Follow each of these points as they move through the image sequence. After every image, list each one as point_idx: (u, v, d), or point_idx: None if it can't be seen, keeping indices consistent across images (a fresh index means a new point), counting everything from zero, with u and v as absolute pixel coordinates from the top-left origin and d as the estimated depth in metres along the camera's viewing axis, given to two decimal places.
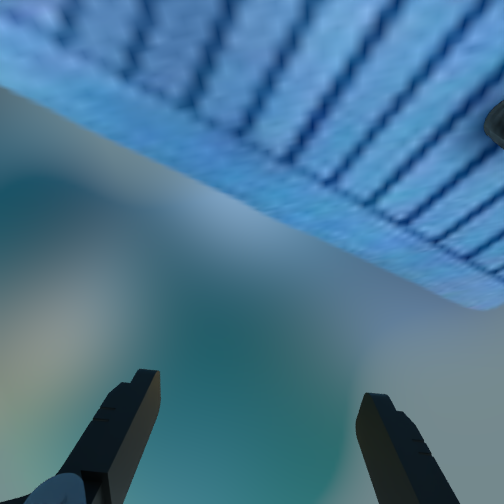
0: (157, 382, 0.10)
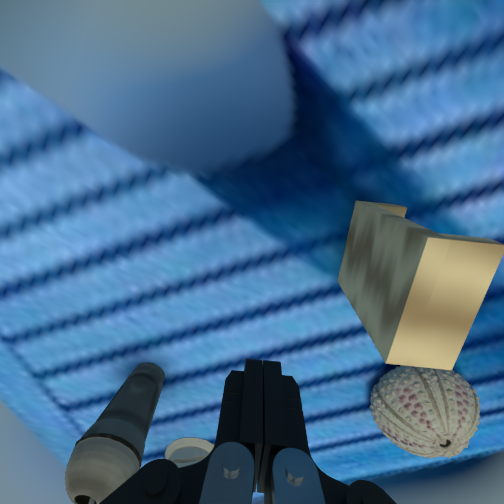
0: None
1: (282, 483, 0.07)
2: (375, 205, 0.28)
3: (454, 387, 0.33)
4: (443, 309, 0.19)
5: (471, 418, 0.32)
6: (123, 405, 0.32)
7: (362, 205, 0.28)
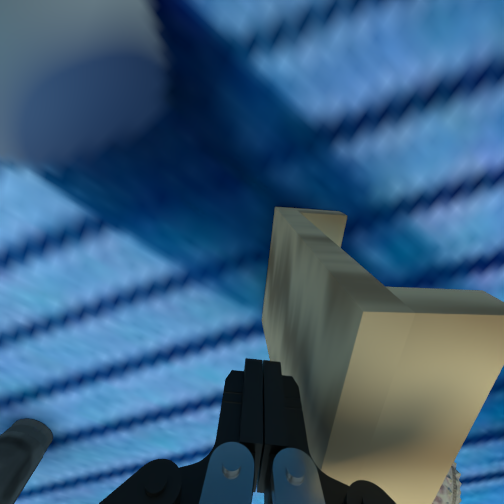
0: None
1: (282, 483, 0.07)
2: (299, 214, 0.18)
3: None
4: (403, 439, 0.09)
5: None
6: None
7: (280, 215, 0.18)
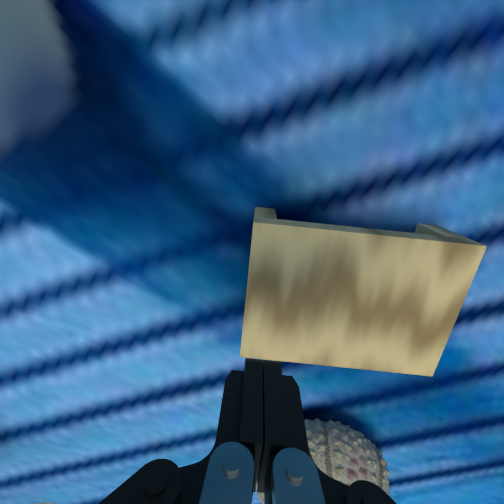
0: None
1: (282, 483, 0.07)
2: (289, 220, 0.17)
3: (348, 462, 0.23)
4: None
5: None
6: None
7: (290, 228, 0.16)
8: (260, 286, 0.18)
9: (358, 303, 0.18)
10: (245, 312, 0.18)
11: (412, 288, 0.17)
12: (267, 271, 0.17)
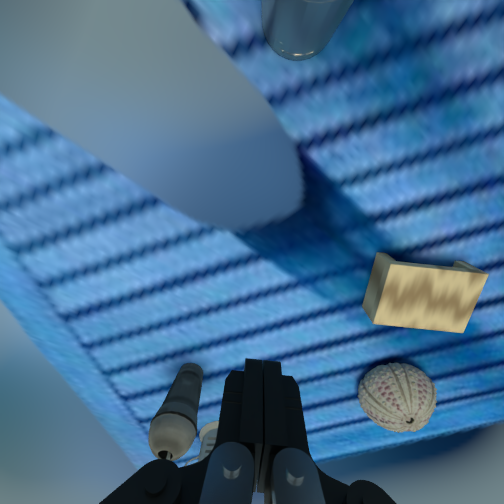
0: None
1: (282, 483, 0.07)
2: (402, 262, 0.40)
3: (417, 380, 0.46)
4: None
5: (428, 402, 0.45)
6: (181, 393, 0.45)
7: (406, 266, 0.39)
8: (388, 291, 0.40)
9: (431, 298, 0.40)
10: (380, 302, 0.41)
11: (456, 292, 0.40)
12: (393, 284, 0.40)
